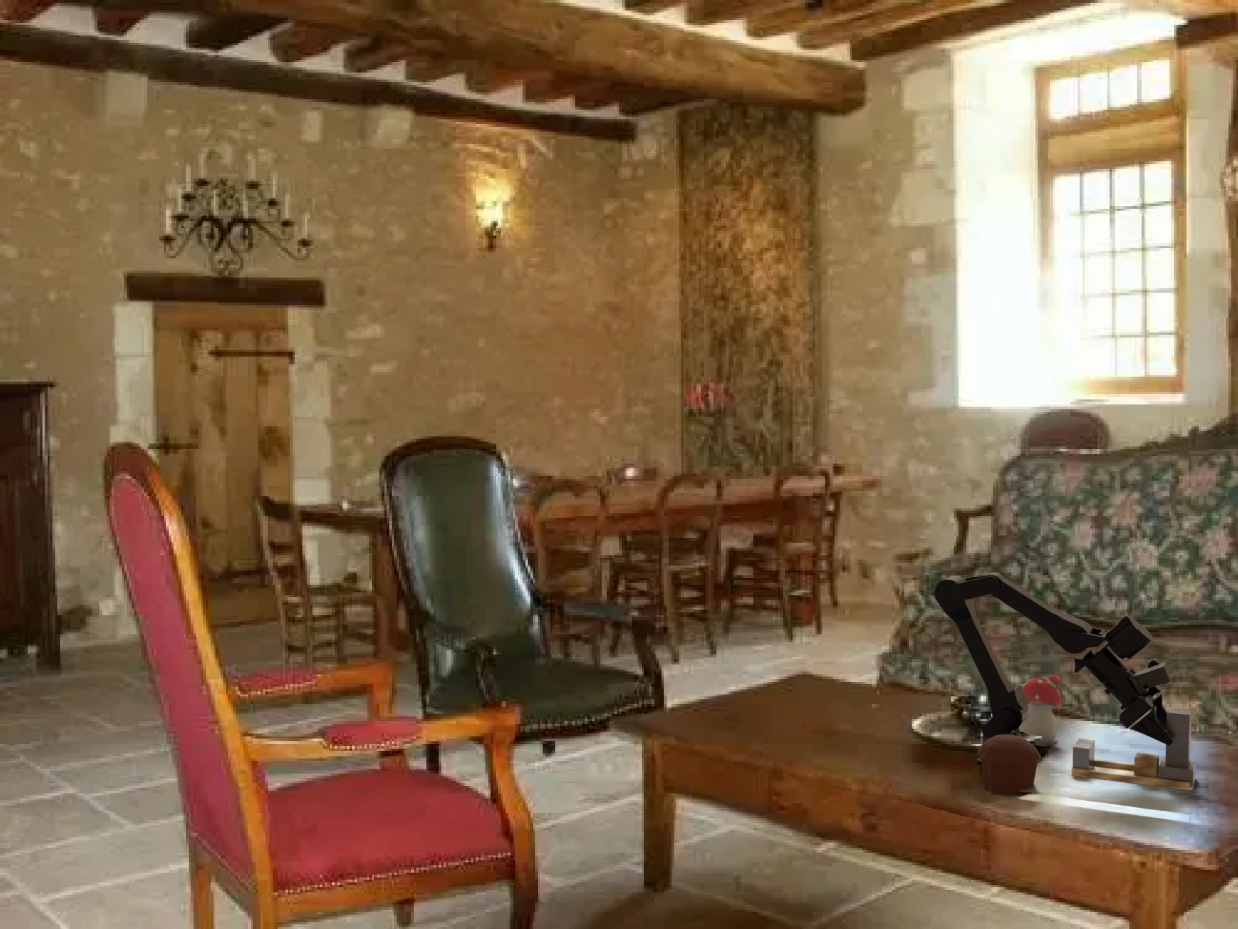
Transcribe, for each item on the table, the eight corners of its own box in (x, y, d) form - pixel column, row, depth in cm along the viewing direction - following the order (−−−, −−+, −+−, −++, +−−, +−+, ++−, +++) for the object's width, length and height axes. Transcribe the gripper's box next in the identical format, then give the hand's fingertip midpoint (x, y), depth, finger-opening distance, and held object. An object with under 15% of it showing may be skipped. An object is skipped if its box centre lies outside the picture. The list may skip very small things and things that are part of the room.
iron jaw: (1072, 772, 269) (1072, 747, 269) (1078, 763, 275) (1078, 738, 275) (1088, 774, 268) (1089, 749, 267) (1094, 765, 274) (1094, 740, 274)
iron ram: (1158, 781, 262) (1160, 713, 261) (1162, 772, 268) (1164, 705, 267) (1192, 786, 259) (1194, 717, 259) (1196, 777, 265) (1198, 709, 264)
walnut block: (1133, 778, 265) (1134, 757, 265) (1136, 773, 269) (1137, 752, 269) (1156, 781, 264) (1156, 760, 263) (1158, 775, 267) (1159, 755, 267)
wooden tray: (1068, 780, 268) (1068, 769, 268) (1076, 767, 277) (1077, 756, 277) (1191, 796, 258) (1192, 784, 258) (1196, 782, 267) (1196, 771, 267)
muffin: (1053, 792, 261) (1054, 739, 260) (1014, 802, 254) (1015, 748, 254) (1002, 776, 270) (1003, 725, 270) (963, 786, 264) (964, 734, 263)
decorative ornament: (1066, 746, 293) (1068, 675, 292) (1046, 750, 289) (1047, 679, 288) (1031, 736, 300) (1032, 667, 299) (1010, 740, 297) (1012, 671, 296)
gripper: (1139, 656, 257) (1203, 722, 252) (1151, 639, 273) (1211, 701, 269) (1093, 695, 261) (1155, 760, 256) (1108, 675, 277) (1166, 737, 273)
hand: (1173, 738), depth 264 cm, fingers open, 9 cm apart
